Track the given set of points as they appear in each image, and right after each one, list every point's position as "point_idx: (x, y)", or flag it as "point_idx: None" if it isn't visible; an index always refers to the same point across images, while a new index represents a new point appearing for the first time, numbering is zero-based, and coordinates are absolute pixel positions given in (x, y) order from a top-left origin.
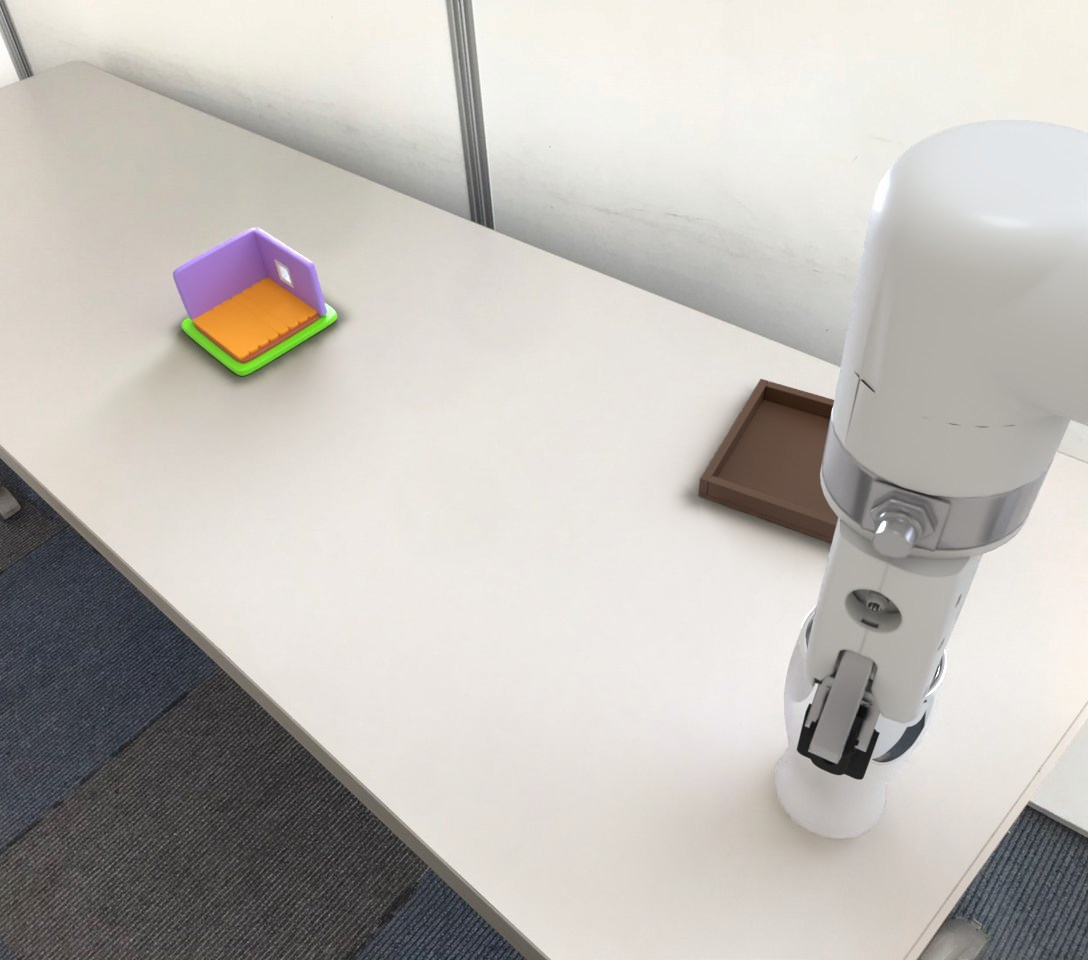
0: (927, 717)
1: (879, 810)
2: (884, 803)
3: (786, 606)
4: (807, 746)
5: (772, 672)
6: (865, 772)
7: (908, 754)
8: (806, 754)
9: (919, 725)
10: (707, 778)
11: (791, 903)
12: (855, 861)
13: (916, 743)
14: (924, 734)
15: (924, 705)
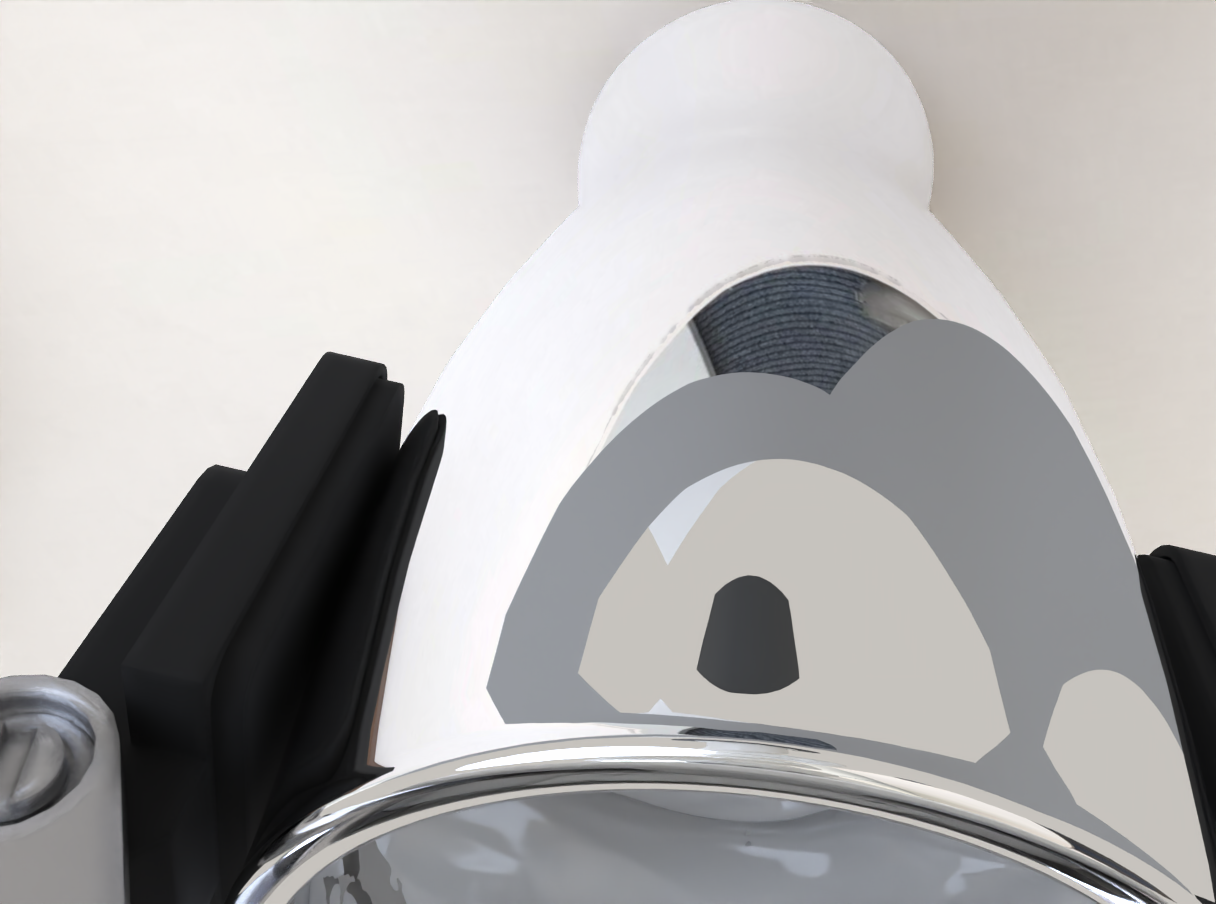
0: (1020, 517)
1: (839, 45)
2: (793, 19)
3: (139, 320)
4: None
5: (381, 336)
6: (1211, 571)
7: (1008, 326)
8: None
9: (1081, 547)
10: None
11: (1123, 221)
12: (958, 47)
13: (1010, 361)
14: (943, 326)
15: (1132, 767)
